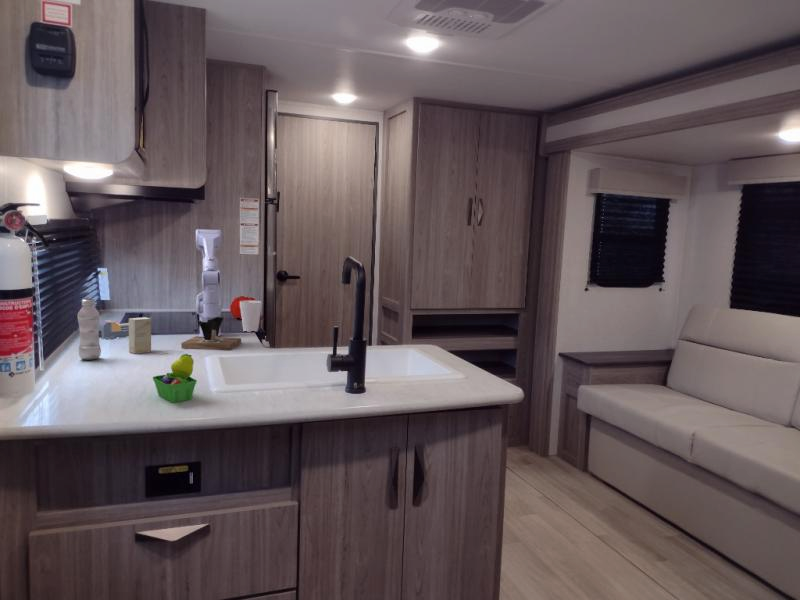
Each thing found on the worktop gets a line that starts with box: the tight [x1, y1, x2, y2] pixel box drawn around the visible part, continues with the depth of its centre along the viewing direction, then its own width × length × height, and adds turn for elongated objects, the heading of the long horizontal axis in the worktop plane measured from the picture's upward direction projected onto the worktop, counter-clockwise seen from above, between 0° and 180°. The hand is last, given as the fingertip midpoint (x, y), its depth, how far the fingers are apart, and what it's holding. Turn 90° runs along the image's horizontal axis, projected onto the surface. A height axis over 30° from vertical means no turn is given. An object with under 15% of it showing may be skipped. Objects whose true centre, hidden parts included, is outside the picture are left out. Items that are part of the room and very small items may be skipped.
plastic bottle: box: [76, 298, 102, 361], centre depth 186 cm, size 6×7×20 cm
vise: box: [98, 319, 129, 341], centre depth 229 cm, size 18×10×7 cm, turn 140°
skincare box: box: [128, 316, 152, 355], centre depth 200 cm, size 6×4×12 cm
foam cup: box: [240, 300, 263, 333], centre depth 250 cm, size 10×9×13 cm
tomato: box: [229, 295, 257, 320], centre depth 282 cm, size 13×14×12 cm
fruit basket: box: [152, 353, 197, 403], centre depth 149 cm, size 11×9×11 cm
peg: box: [205, 330, 216, 342], centre depth 215 cm, size 4×4×6 cm
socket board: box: [180, 335, 242, 351], centre depth 216 cm, size 14×18×2 cm
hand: (211, 338), depth 215 cm, fingers open, 7 cm apart
